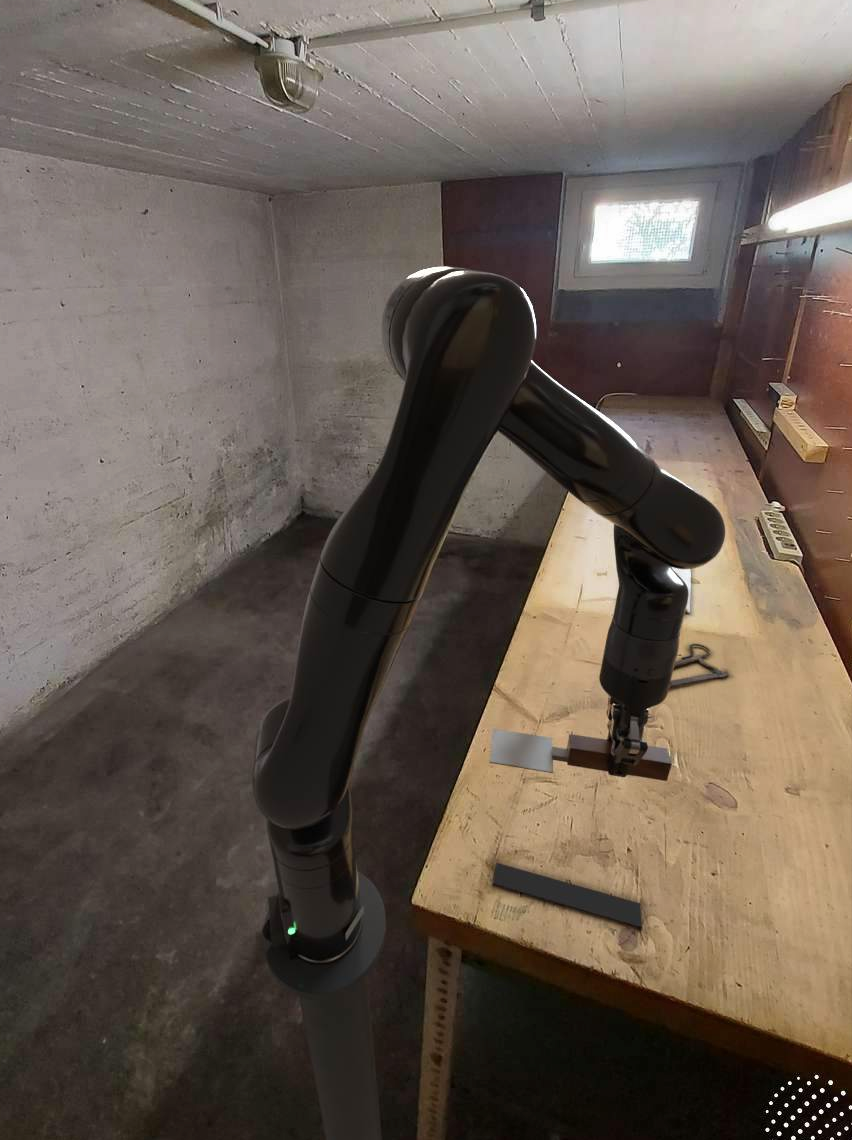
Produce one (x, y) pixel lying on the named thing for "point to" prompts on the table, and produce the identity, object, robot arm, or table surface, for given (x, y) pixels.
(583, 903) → the edge strip
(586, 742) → the scraper
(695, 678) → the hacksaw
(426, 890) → the table surface
